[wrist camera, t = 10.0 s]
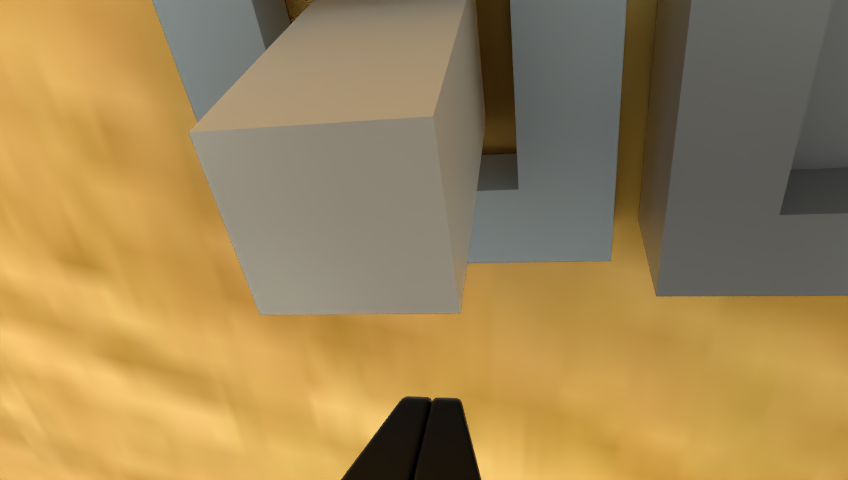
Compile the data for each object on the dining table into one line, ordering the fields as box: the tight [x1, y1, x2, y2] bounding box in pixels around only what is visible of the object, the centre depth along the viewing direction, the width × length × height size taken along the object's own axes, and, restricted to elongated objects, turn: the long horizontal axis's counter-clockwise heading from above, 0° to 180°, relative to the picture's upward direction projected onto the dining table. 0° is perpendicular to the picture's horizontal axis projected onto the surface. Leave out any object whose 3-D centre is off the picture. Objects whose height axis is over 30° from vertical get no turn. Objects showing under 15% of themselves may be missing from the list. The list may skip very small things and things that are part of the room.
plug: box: [188, 0, 486, 315], centre depth 14 cm, size 4×4×8 cm
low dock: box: [152, 0, 627, 263], centre depth 16 cm, size 11×11×2 cm
